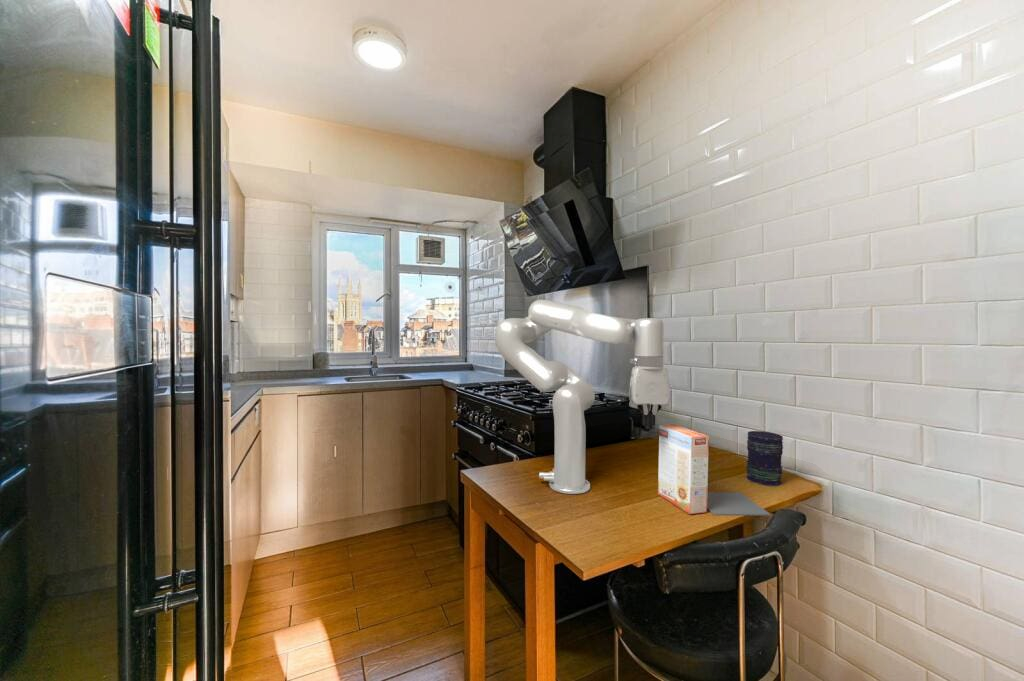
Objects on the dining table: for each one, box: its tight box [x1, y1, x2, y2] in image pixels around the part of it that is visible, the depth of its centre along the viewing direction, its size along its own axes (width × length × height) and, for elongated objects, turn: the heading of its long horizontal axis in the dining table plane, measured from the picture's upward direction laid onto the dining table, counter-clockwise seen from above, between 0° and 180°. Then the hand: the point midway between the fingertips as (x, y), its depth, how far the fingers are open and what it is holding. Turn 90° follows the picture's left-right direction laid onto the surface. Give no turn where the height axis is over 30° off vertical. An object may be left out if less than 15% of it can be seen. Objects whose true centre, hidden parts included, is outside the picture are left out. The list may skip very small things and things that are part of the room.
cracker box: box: [657, 423, 710, 515], centre depth 113 cm, size 14×6×21 cm, turn 15°
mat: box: [707, 491, 771, 517], centre depth 113 cm, size 15×14×1 cm
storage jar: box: [745, 430, 784, 487], centre depth 130 cm, size 10×10×15 cm
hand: (648, 428), depth 112 cm, fingers closed
